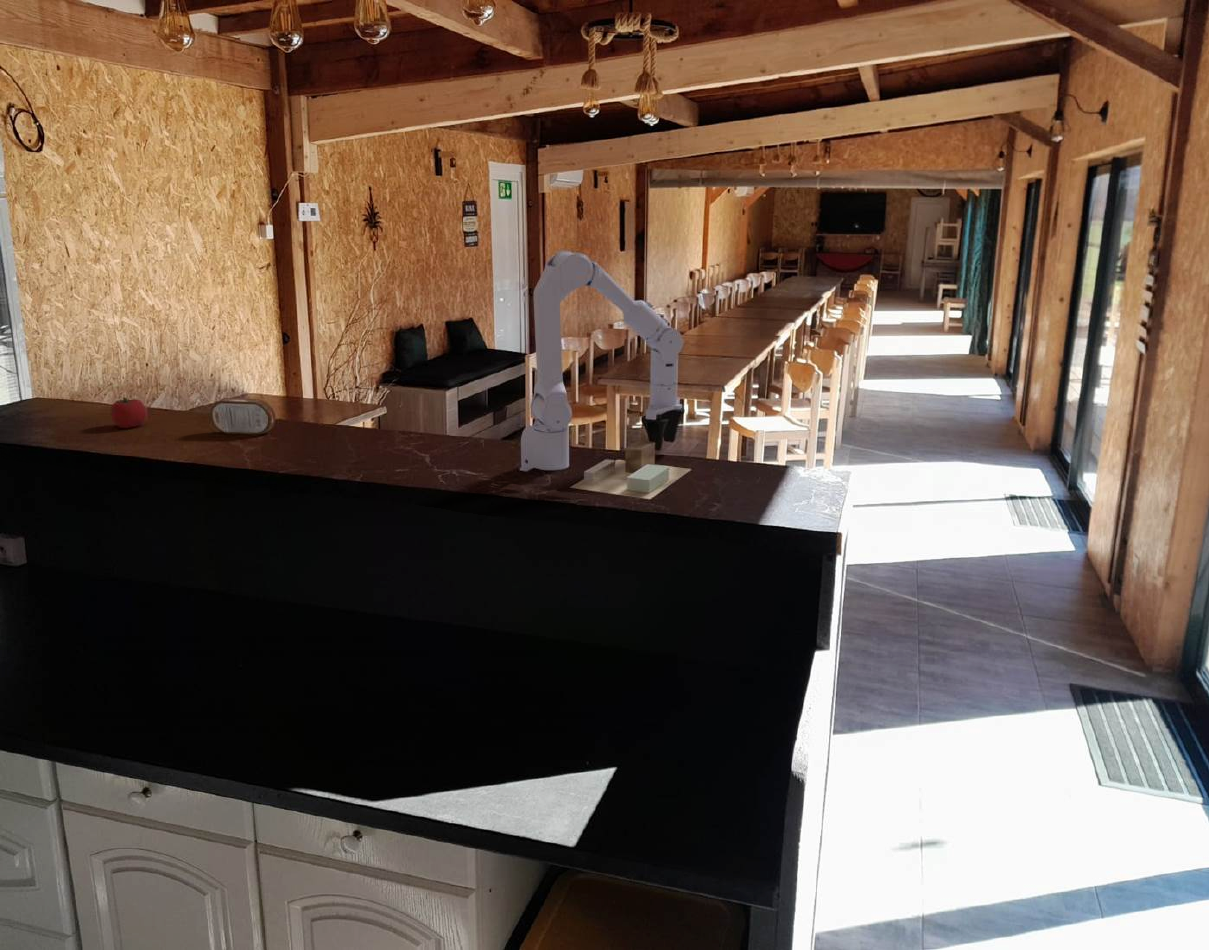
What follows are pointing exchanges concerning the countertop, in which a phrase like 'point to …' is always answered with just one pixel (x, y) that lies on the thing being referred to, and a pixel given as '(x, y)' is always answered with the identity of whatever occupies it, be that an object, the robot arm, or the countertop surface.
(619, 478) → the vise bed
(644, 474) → the block
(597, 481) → the block
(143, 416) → the tomato
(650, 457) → the block
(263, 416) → the tin
